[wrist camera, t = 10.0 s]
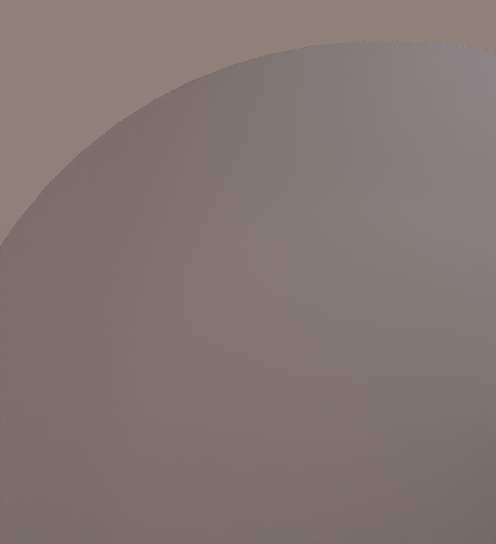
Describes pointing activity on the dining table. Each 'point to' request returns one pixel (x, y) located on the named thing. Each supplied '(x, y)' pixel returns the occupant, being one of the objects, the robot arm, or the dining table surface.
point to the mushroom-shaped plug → (263, 312)
